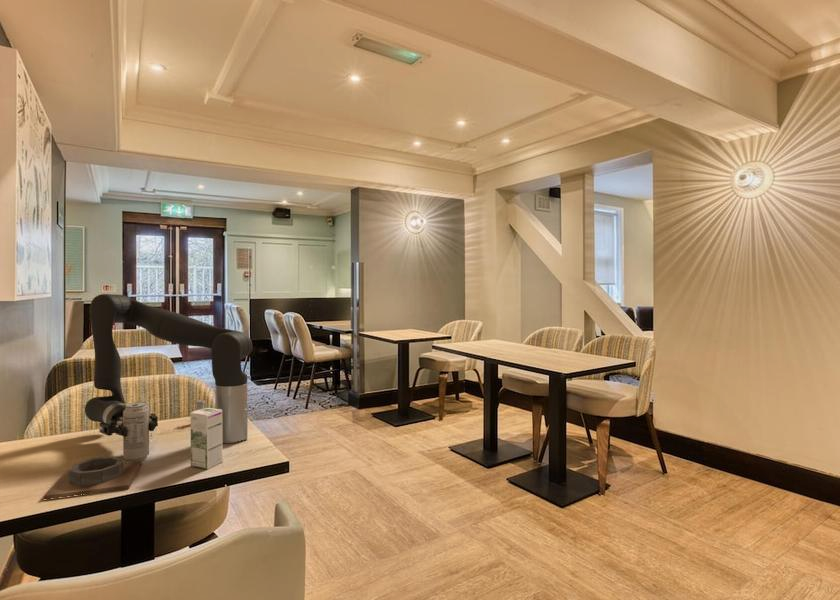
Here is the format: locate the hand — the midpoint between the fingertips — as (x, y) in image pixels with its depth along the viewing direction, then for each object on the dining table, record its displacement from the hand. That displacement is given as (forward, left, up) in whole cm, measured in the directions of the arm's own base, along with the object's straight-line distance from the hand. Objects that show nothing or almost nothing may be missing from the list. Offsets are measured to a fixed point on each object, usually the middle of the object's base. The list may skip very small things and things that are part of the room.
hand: (139, 429), depth 123 cm
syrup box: (-17, +9, -9) cm, 21 cm away
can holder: (+7, +11, -9) cm, 16 cm away
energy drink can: (+1, -2, -9) cm, 9 cm away
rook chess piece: (-13, -33, -9) cm, 37 cm away
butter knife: (-1, -16, -9) cm, 19 cm away
